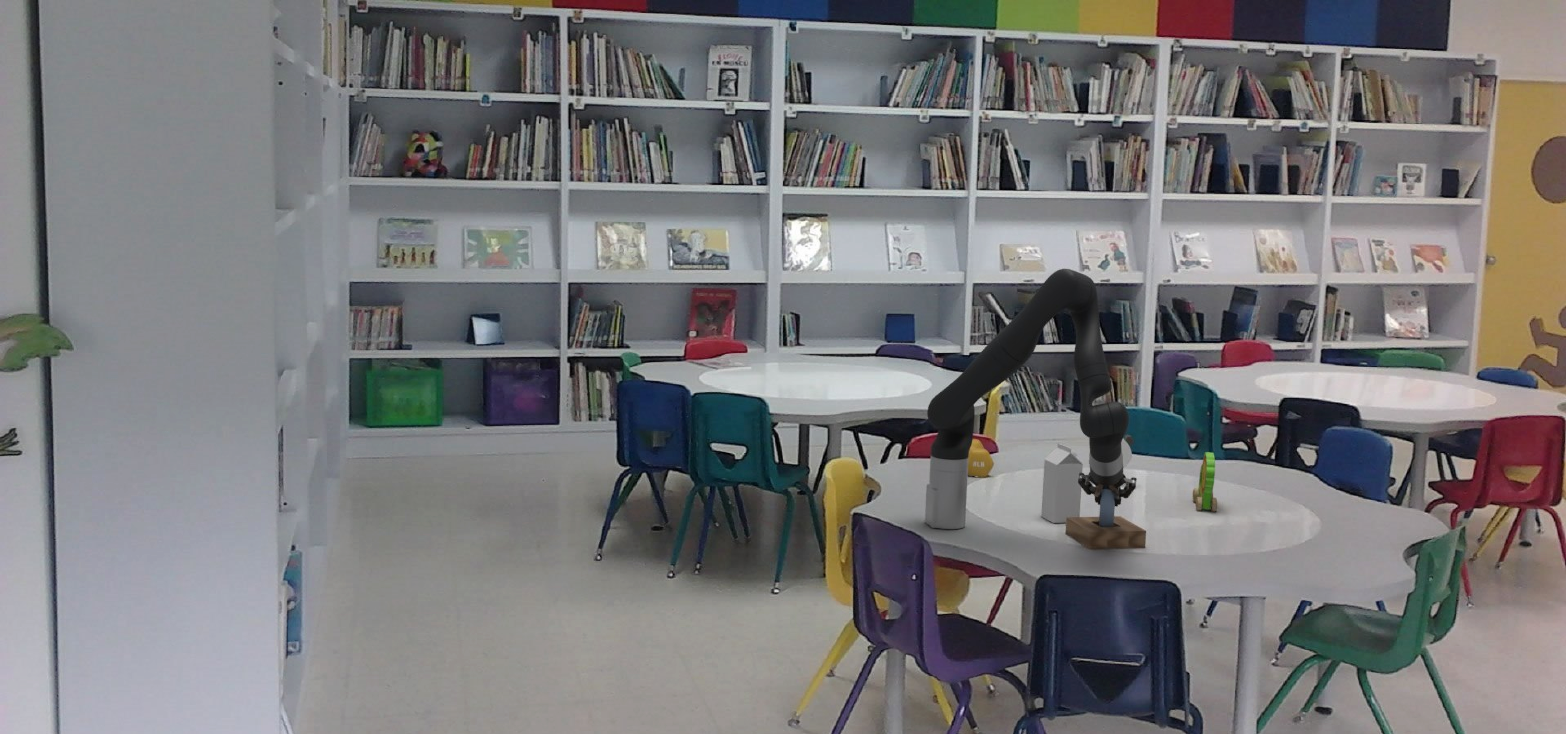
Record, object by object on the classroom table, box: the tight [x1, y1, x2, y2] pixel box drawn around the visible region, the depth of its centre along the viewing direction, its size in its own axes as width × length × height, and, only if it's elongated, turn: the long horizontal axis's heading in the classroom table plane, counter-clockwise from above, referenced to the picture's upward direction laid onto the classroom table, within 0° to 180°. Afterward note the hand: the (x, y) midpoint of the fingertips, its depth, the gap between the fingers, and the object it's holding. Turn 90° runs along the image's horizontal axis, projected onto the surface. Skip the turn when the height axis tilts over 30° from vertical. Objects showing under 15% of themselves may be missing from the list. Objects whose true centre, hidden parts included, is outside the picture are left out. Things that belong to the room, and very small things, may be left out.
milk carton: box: [1040, 442, 1084, 524], centre depth 345 cm, size 7×7×19 cm
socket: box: [1065, 515, 1147, 550], centre depth 328 cm, size 14×14×4 cm
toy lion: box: [1192, 451, 1218, 512], centre depth 364 cm, size 16×5×15 cm, turn 168°
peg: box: [1098, 489, 1116, 527], centre depth 326 cm, size 3×3×14 cm
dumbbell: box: [968, 438, 995, 478], centre depth 402 cm, size 19×9×8 cm, turn 0°
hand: (1108, 502), depth 328 cm, fingers closed on peg, 3 cm apart
